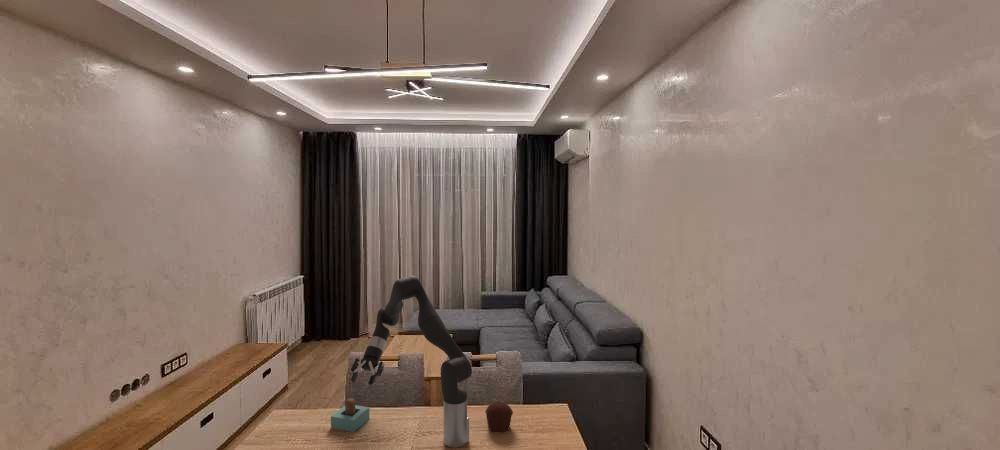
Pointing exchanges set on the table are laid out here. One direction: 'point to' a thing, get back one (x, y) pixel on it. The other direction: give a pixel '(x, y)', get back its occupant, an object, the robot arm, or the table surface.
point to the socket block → (350, 419)
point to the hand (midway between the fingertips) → (361, 383)
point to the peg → (350, 407)
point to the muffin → (498, 416)
